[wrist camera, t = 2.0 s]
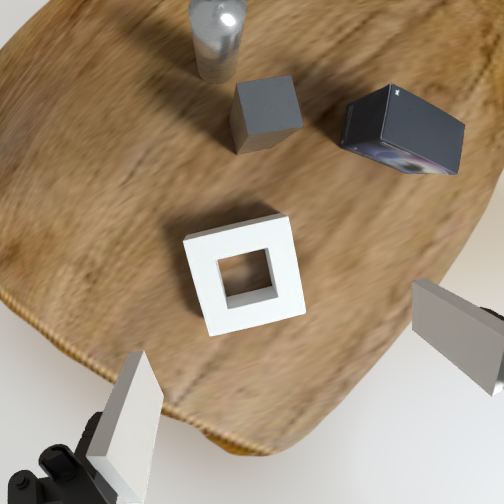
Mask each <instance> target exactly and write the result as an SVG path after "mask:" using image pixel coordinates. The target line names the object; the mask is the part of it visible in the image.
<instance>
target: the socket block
mask: <svg viewBox="0 0 504 504" xmlns="http://www.w3.org/2000/svg"><path fill="white" fill-rule="evenodd" d="M183 243H184V247H185V251H186V255H187V259H188V262H189V266H190V270H191V273H192V277H193V281H194V284H195V288H196V291H197V295H198V298H199V302H200V305H201V308H202V312H203V315H204V318H205V322H206V325H207V328H208V332H209V335H210V337H211V336H215V335H220V334H224V333H229V332H233V331H237V330H242V329H246V328H250V327H254V326H258V325H262V324H266V323H270V322H274V321H278V320H282V319H286V318H290V317H293V316H297V315H301V314H305V313H306V309H305V303H304V297H303V292H302V286H301V280H300V275H299V269H298V264H297V259H296V253H295V248H294V243H293V238H292V232H291V227H290V222H289V217H288V216H287V215H284V214H282V213H278V214H273V215H269V216H265V217H260V218H256V219H251V220H247V221H243V222H239V223H234V224H230V225H226V226H222V227H217V228H213V229H209V230H205V231H201V232H197V233H193V234H189V235H186V237H185V238H184V240H183ZM260 249H265V254H266V258H267V263H268V268H269V273H270V277H271V282H272V286H270V287H266V288H262V289H258V290H254V291H250V292H245V293H241V294H237V295H233V296H229V297H226V293H225V289H224V285H223V281H222V277H221V273H220V269H219V265H218V261H217V260H218V259H222V258H226V257H231V256H235V255H239V254H243V253H247V252H252V251H256V250H260Z"/></svg>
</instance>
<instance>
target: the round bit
mask: <svg viewBox="0 0 504 504" xmlns="http://www.w3.org/2000/svg"><path fill="white" fill-rule="evenodd" d="M246 11H247V5H246V2H245V0H191V2H190V4H189V17H190V23H191V30H192V37H193V43H194V49H195V56H196V62H197V68H198V73H199V75H200V77H201V78H202V79H203V80H204V81H206V82H208V83H211V84H221V83H224V82H227V81H228V80H230V79H231V78H232V77H233V75H234V73H235V70H236V64H237V59H238V53H239V47H240V42H241V37H242V31H243V26H244V21H245V16H246Z"/></svg>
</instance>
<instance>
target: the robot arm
mask: <svg viewBox="0 0 504 504" xmlns="http://www.w3.org/2000/svg"><path fill="white" fill-rule="evenodd" d="M412 330H413V331H414V332H416V333H417V334H418V335H419V336H421V337H422V338H423V339H424V340H426V341H427V342H428V343H429V344H430V345H432V346H433V347H434V348H435V349H436V350H438V351H439V352H440V353H441V354H443V355H444V356H445V357H446V358H447V359H448V360H450V361H451V362H452V363H453V364H454V365H456V366H457V367H458V368H459V369H460V370H461V371H463V372H464V373H465V374H466V375H467V376H469V377H470V378H471V379H472V380H473V381H474V382H476V383H477V384H478V385H479V386H480V387H481V388H483V389H484V390H485V391H486V392H487V393H488V394H489V395H491V396H494V395H495V394H497V393H498V392H500V391H501V390H502V389H504V317H503V316H502V315H498V313H496V312H494V311H492V310H491V309H487V308H483V307H477V306H476V305H474V304H472V303H470V302H468V301H466V300H464V299H463V298H461V297H459V296H457V295H455V294H454V293H452V292H450V291H448V290H446V289H444V288H442V287H440V286H438V285H437V284H435V283H433V282H431V281H429V280H427V279H425V278H421V279H418V280H415V281H413V282H412ZM163 398H164V396H163V393H162V391H161V389H160V387H159V385H158V382H157V380H156V378H155V376H154V373H153V371H152V369H151V366H150V364H149V362H148V359H147V357H146V354H145V352H144V351H138V352H132V353H129V355H128V357H127V359H126V361H125V363H124V365H123V368H122V370H121V372H120V374H119V377H118V379H117V381H116V383H115V386H114V388H113V390H112V393H111V395H110V397H109V399H108V402H107V404H106V407H105V409H104V411H103V412H96V413H95V414H94V415H93V416H92V417H91V418H90V419H89V420H88V423H87V425H86V427H85V431H84V432H83V434H82V438H81V439H80V441H79V443H78V445H77V448H76V450H75V452H74V454H73V452H72V451H71V450H70V449H69V447H68V446H66V445H63V444H56V445H53V446H50V447H48V448H47V449H45V450H44V451H43V452H42V454H41V455H40V458H39V460H38V461H39V466H40V467H41V468H42V469H43V470H44V472H45V473H46V474H47V475H48V476H49V477H45V478H39V479H38V478H37V477H36V476H35V475H34V474H33V473H32V472H31V471H29V470H21V471H19V472H16V473H15V474H14V475H13V476H12V477H11V478H10V480H9V483H8V504H116V501H117V496H119V497H120V498H121V499H122V500H123V501H124V502H125V503H129V504H131V503H132V504H145V498H146V491H147V485H148V479H149V473H150V467H151V461H152V456H153V450H154V444H155V439H156V434H157V428H158V423H159V418H160V413H161V408H162V403H163Z"/></svg>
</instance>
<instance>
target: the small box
mask: <svg viewBox="0 0 504 504" xmlns="http://www.w3.org/2000/svg"><path fill="white" fill-rule="evenodd" d="M464 130H465V124H463V123H462V122H460V121H459V120H457V119H456V118H454V117H452V116H451V115H449V114H447V113H446V112H444V111H443V110H441V109H439V108H437V107H436V106H434V105H432V104H430V103H429V102H427V101H425V100H423V99H422V98H420V97H418V96H416V95H414V94H412V93H410V92H408V91H406V90H404V89H403V88H400V87H398V86H396V85H394V84H392V83H391V84H388V85H387V86H385V87H383V88H381V89H379V90H377V91H375V92H373V93H371V94H369V95H367V96H365V97H363V98H361V99H359V100H357V101H354V102H352V103H350V104H348V108H347V113H346V120H345V125H344V129H343V133H342V136H341V143H340V148H342V149H345V150H348V151H350V152H353V153H356V154H359V155H361V156H364V157H366V158H369V159H372V160H374V161H377V162H379V163H382V164H385V165H387V166H389V167H392V168H394V169H397V170H399V171H402V172H404V173H406V174H449V175H457V174H458V170H459V165H460V158H461V152H462V145H463V138H464Z"/></svg>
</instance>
